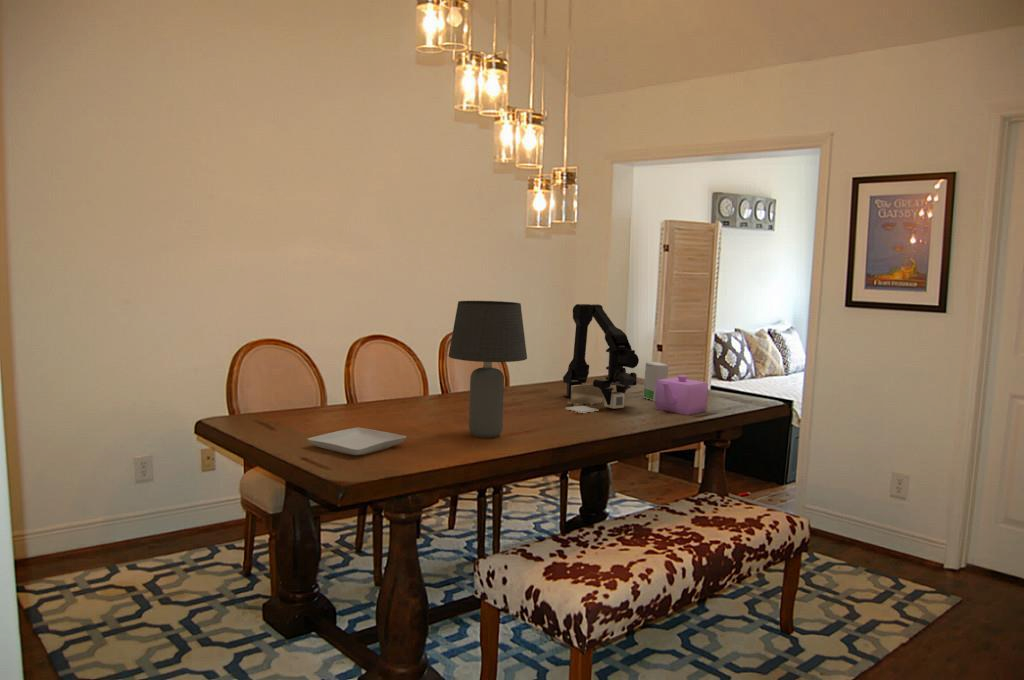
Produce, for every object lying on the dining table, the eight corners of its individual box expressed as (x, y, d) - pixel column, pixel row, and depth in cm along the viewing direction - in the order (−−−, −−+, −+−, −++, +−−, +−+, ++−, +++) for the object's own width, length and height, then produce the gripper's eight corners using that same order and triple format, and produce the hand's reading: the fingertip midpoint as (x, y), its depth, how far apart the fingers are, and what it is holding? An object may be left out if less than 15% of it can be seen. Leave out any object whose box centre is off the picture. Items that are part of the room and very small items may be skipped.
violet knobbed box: (643, 411, 296) (645, 375, 295) (681, 404, 313) (683, 371, 312) (676, 417, 285) (678, 380, 284) (713, 410, 302) (715, 375, 301)
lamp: (430, 434, 244) (433, 300, 240) (485, 423, 263) (488, 299, 259) (485, 448, 228) (490, 305, 223) (540, 436, 246) (545, 304, 242)
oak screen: (567, 404, 304) (568, 384, 303) (596, 401, 314) (597, 382, 313) (575, 406, 300) (576, 386, 299) (605, 403, 310) (606, 384, 309)
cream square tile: (565, 409, 294) (565, 407, 294) (582, 407, 299) (583, 405, 299) (581, 413, 286) (581, 411, 286) (598, 411, 292) (598, 409, 292)
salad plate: (304, 448, 222) (305, 437, 222) (357, 436, 240) (357, 425, 239) (357, 461, 210) (357, 449, 210) (408, 447, 228) (408, 436, 228)
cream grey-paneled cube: (603, 406, 299) (604, 391, 299) (614, 404, 302) (614, 390, 302) (614, 408, 295) (614, 394, 294) (624, 407, 298) (624, 393, 297)
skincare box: (642, 398, 325) (644, 362, 324) (655, 397, 328) (657, 361, 326) (654, 401, 318) (656, 364, 316) (667, 400, 320) (669, 364, 319)
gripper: (613, 368, 285) (611, 409, 287) (647, 366, 296) (645, 405, 298) (592, 365, 294) (591, 404, 295) (627, 362, 305) (625, 400, 307)
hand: (614, 404), depth 299 cm, fingers closed on cream grey-paneled cube, 5 cm apart
